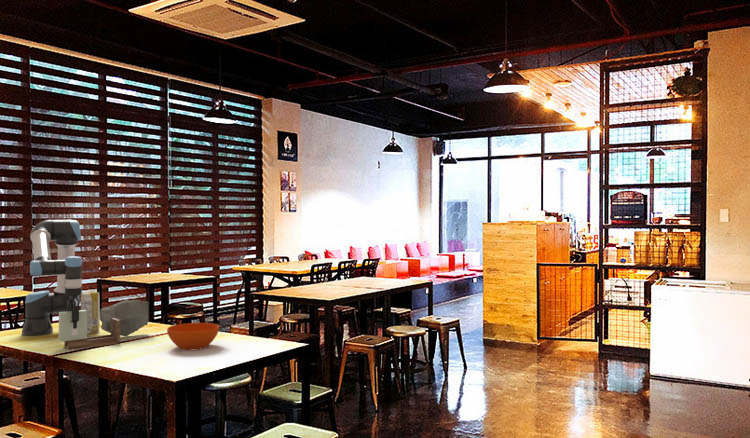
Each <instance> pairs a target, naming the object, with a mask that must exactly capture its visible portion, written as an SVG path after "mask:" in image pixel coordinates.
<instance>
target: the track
mask: <svg viewBox="0 0 750 438" xmlns="http://www.w3.org/2000/svg"><path fill="white" fill-rule="evenodd" d="M63 342H64V343H63V347H64V348H65V349H67V350H68V351H72V349H74V350H80V349H88V347H89V348H93V347H94V348H95V347H102V346H110V345H118V344H121V335H120V320H118V319H116V318H111V333H110V334H103V335H96V336H87V339H80V340H71V341H63Z"/></svg>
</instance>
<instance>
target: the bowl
mask: <svg viewBox="0 0 750 438" xmlns="http://www.w3.org/2000/svg"><path fill="white" fill-rule="evenodd" d="M166 330H167V331H166V332H167V334H168V337H169V339H170V340H171V341H172V343H174V345H175V346H176V347H178V349H179V350H182V349H184V351H192V350H191V349H197V350H201V349H200V348H203V349H206V348H208V347H209V345H210V344H212V343H213V341H214V340H215V339H216V337H217V336H218V333H219V331H220V325H219V324H216V323H210V322H193V323H192V322H191V323H190V322H189V323H181V324H175V325H171V326H169V327H167V328H166ZM207 346H208V347H207ZM205 347H206V348H205Z"/></svg>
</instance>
